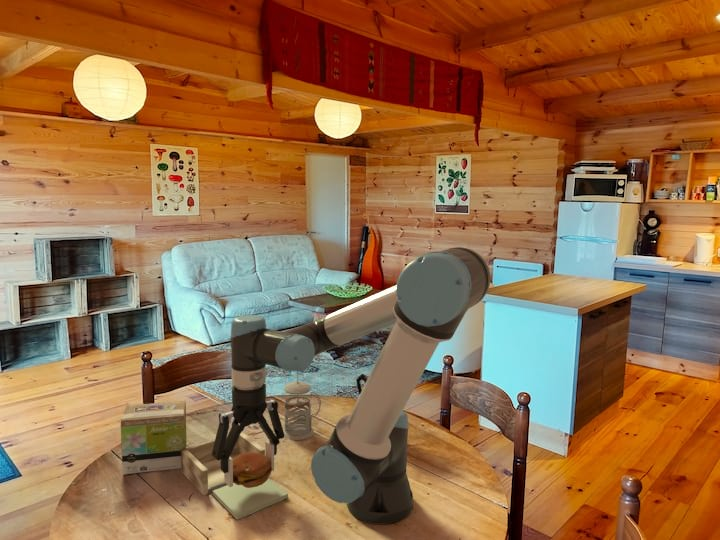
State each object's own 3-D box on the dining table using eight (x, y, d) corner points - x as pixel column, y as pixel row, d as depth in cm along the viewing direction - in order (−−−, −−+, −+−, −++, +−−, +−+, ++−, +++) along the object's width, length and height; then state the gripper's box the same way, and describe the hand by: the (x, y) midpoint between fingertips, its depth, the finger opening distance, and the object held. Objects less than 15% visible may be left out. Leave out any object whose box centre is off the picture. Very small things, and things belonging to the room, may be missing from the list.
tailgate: (288, 497, 120) (287, 492, 119) (236, 519, 111) (236, 513, 111) (259, 473, 130) (259, 468, 129) (210, 492, 121) (210, 486, 121)
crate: (265, 471, 131) (264, 449, 130) (203, 495, 120) (202, 471, 119) (240, 451, 140) (240, 430, 140) (181, 471, 130) (180, 449, 129)
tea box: (122, 477, 127) (118, 420, 125) (128, 457, 137) (125, 404, 135) (186, 468, 131) (184, 414, 129) (187, 450, 141) (185, 398, 139)
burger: (266, 463, 125) (266, 445, 124) (275, 483, 117) (275, 464, 116) (224, 471, 121) (224, 453, 120) (231, 493, 113) (231, 473, 112)
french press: (284, 424, 158) (283, 345, 154) (322, 425, 157) (322, 346, 153) (278, 439, 148) (277, 355, 144) (318, 440, 147) (318, 356, 144)
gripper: (208, 402, 106) (210, 501, 109) (300, 378, 120) (299, 466, 124) (193, 390, 111) (196, 486, 115) (282, 369, 126) (282, 454, 129)
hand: (249, 476), depth 119 cm, fingers closed on burger, 10 cm apart
